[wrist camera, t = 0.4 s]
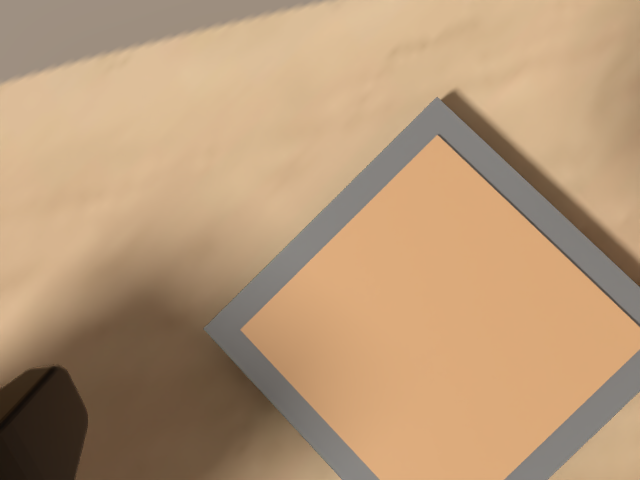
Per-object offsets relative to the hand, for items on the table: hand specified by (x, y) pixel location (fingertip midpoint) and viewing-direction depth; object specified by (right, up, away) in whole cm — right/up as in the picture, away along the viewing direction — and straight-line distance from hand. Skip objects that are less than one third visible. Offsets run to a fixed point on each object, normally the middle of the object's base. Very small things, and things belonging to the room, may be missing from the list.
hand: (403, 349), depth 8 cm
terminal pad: (+3, -2, +14) cm, 15 cm away
